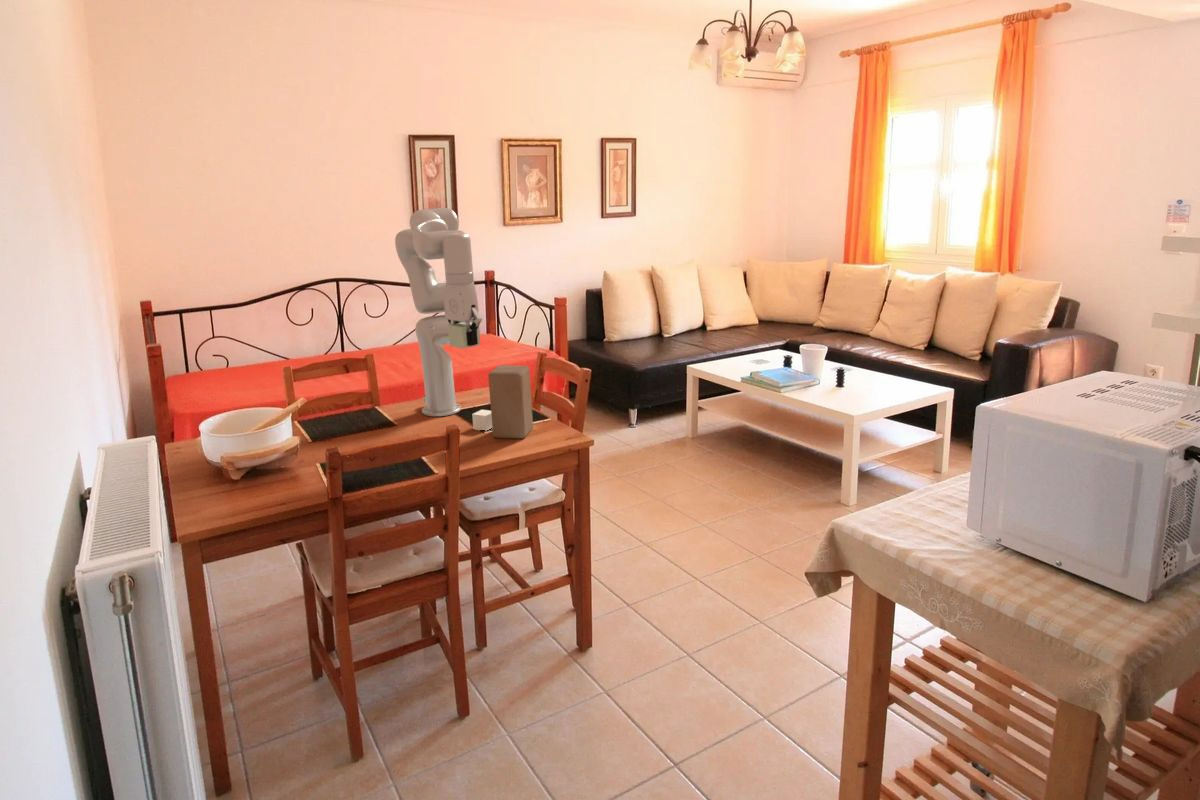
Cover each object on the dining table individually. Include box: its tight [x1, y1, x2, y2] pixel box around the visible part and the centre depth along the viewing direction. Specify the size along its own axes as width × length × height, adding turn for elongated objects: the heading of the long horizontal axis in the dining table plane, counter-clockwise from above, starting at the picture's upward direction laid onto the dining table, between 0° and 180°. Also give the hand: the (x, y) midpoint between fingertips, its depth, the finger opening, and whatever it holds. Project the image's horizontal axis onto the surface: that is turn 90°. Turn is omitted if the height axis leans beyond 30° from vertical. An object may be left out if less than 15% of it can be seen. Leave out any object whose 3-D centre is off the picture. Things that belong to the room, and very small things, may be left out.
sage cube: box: [448, 322, 481, 350], centre depth 211 cm, size 6×6×6 cm
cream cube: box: [472, 409, 492, 432], centre depth 231 cm, size 5×5×5 cm
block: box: [487, 364, 534, 439], centre depth 223 cm, size 10×10×20 cm
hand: (465, 342), depth 212 cm, fingers closed on sage cube, 6 cm apart
